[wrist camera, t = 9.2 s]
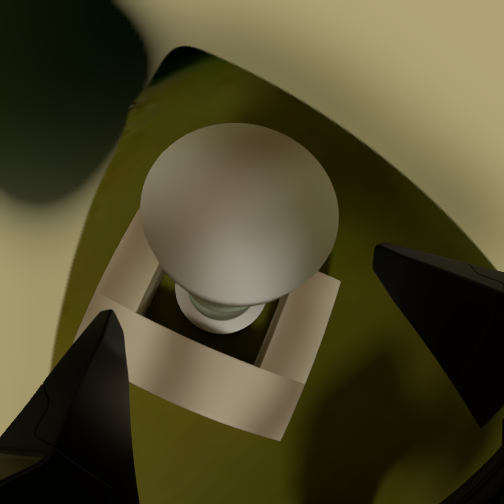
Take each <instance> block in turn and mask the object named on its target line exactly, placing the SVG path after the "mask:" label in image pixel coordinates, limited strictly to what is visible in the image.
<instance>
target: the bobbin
mask: <svg viewBox="0 0 504 504" xmlns="http://www.w3.org/2000/svg"><path fill="white" fill-rule="evenodd" d="M140 209H141V221H142V226H143V230H144V234H145V236H146V239H147V241H148V244H149V246H150V248H151V249H152V251H153V253H154V255H155V257H156V258H157V260H158V262H159V264H160V265H161V267H162V268H163V269H164V271H165V272H166V273H167V274H168V276H169V277H170V278H171V279H172V280H173V281H174V282H175V283H176V284H175V292H176V298H177V301H178V304H179V306H180V308H181V310H182V312H183V313H184V315H185V316H186V317H187V318H188V319H189V321H191V322H192V323H193V324H194V325H195V326H197V327H198V328H200V329H202V330H204V331H207V332H210V333H214V334H228V333H233V332H236V331H239V330H241V329H243V328H245V327H247V326H248V325H250V324H251V323H252V322H253V321H254V320H255V319H256V318H257V317H258V316H259V315H260V313H261V312H262V310H263V308H264V306H265V304H266V303H269V302H272V301H274V300H277V299H279V298H281V297H283V296H285V295H287V294H289V293H290V292H292V291H293V290H295V289H296V288H298V287H299V286H300V285H302V284H303V283H305V282H306V281H307V280H309V279H310V278H311V277H312V276H313V275H314V274H315V273H316V272H317V271H318V270H319V269H320V268H321V266H322V265H323V264H324V262H325V261H326V259H327V258H328V256H329V254H330V252H331V250H332V248H333V245H334V242H335V240H336V236H337V231H338V223H339V211H338V203H337V198H336V194H335V191H334V188H333V185H332V183H331V181H330V179H329V177H328V175H327V173H326V172H325V170H324V169H323V167H322V166H321V164H320V163H319V162H318V161H317V160H316V158H315V157H314V156H313V155H312V154H311V153H310V152H309V151H308V150H307V149H306V148H304V147H303V146H302V145H300V144H299V143H298V142H296V141H295V140H293V139H291V138H290V137H288V136H286V135H284V134H282V133H280V132H278V131H275V130H272V129H269V128H266V127H263V126H258V125H254V124H246V123H224V124H217V125H212V126H207V127H204V128H201V129H198V130H196V131H193V132H191V133H189V134H187V135H185V136H183V137H182V138H180V139H178V140H177V141H176V142H174V143H173V144H172V145H170V146H169V147H168V148H167V149H166V150H165V151H164V152H163V153H162V154H161V155H160V156H159V158H158V159H157V160H156V162H155V163H154V165H153V166H152V168H151V170H150V171H149V173H148V176H147V178H146V181H145V183H144V187H143V191H142V195H141V205H140Z"/></svg>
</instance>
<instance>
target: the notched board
mask: <svg viewBox="0 0 504 504" xmlns="http://www.w3.org/2000/svg"><path fill="white" fill-rule="evenodd" d="M164 274H165V271H164V269H163V268H162V267H161V265H160V264H159V262H158V260H157V258H156V257H155V255H154V253H153V251H152V249H151V248H150V246H149V244H148V241H147V239H146V236H145V234H144V230H143V226H142V221H141V209H140V208H139V210H138V212H137V213H136V215H135V217H134V218H133V220H132V222H131V224H130V225H129V227H128V229H127V231H126V233H125V234H124V236H123V238H122V240H121V242H120V244H119V245H118V247H117V249H116V251H115V253H114V255H113V257H112V259H111V261H110V263H109V265H108V267H107V269H106V271H105V273H104V275H103V277H102V279H101V281H100V283H99V285H98V287H97V289H96V291H95V293H94V296H93V298H92V300H91V302H90V304H89V307H88V309H87V311H86V313H85V316H84V318H83V320H82V323H81V325H80V327H79V330H78V332H77V335H76V337H75V340H74V342H75V341H76V340H77V338H78V337H79V336H80V335H81V334H82V332H83V331H84V330H85V329H86V328H87V326H88V325H89V324H90V323H91V322H92V320H93V319H94V318H95V317H96V316H97V315H98V313H99V312H100V311H103V310H108V309H112V310H114V312H115V314H116V316H117V318H118V320H119V323H120V325H121V327H122V329H123V333H124V339H125V350H126V359H127V367H128V376H129V382H131V383H133V384H135V385H137V386H139V387H141V388H143V389H145V390H147V391H149V392H151V393H153V394H155V395H157V396H159V397H161V398H163V399H166V400H168V401H170V402H172V403H174V404H177V405H179V406H181V407H183V408H186V409H188V410H191V411H193V412H195V413H198V414H200V415H203V416H205V417H208V418H211V419H213V420H216V421H219V422H221V423H224V424H227V425H230V426H233V427H236V428H239V429H242V430H245V431H248V432H251V433H254V434H257V435H261V436H264V437H267V438H271V439H274V440H278V441H281V439H282V436H283V434H284V432H285V430H286V428H287V425H288V423H289V421H290V419H291V416H292V414H293V412H294V409H295V407H296V405H297V402H298V400H299V397H300V395H301V393H302V390H303V388H304V385H305V383H306V380H307V378H308V375H309V373H310V370H311V367H312V365H313V362H314V359H315V357H316V354H317V351H318V349H319V346H320V343H321V340H322V337H323V335H324V332H325V329H326V326H327V323H328V320H329V317H330V314H331V311H332V308H333V305H334V302H335V299H336V296H337V292H338V289H339V286H340V283H341V281H339V280H337V279H334V278H332V277H330V276H328V275H325V274H323V273H321V272H319V271H317V272H316V273H315V274H314V275H313V276H312V277H311V278H310V279H309V280H307V281H306V282H305V283H303V284H302V285H300V286H299V287H298V288H296V289H295V290H293V291H292V292H290V293H289V294H287V295H285V296H283V297H281V298H280V300H279V303H278V305H277V308H276V310H275V313H274V315H273V318H272V321H271V323H270V326H269V328H268V331H267V333H266V336H265V338H264V341H263V343H262V345H261V348H260V350H259V353H258V355H257V358H256V360H255V363H254V365H252V364H249V363H247V362H244V361H242V360H239V359H237V358H234V357H232V356H229V355H227V354H224V353H222V352H220V351H217V350H215V349H213V348H210V347H208V346H206V345H203V344H201V343H199V342H197V341H194V340H192V339H190V338H188V337H185V336H183V335H181V334H179V333H177V332H175V331H173V330H171V329H168V328H166V327H164V326H162V325H160V324H158V323H156V322H154V321H152V320H150V319H148V318H146V317H144V316H145V314H146V312H147V310H148V308H149V305H150V303H151V301H152V299H153V297H154V295H155V293H156V290H157V288H158V286H159V284H160V282H161V280H162V278H163V276H164ZM74 342H73V343H74Z"/></svg>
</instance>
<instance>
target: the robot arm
mask: <svg viewBox="0 0 504 504" xmlns="http://www.w3.org/2000/svg"><path fill="white" fill-rule="evenodd" d="M373 270H374V272H375V274H376V275H377V277H378V278H379V280H380V281H381V283H382V284H383V286H384V287H385V289H386V290H387V292H388V294H389V295H390V297H391V298H392V300H393V301H394V303H395V304H396V305H397V307H398V308H399V309H400V310H401V312H402V313H403V314H404V316H405V317H406V318H407V320H408V321H409V322H410V324H411V325H412V326H413V328H414V329H415V330H416V332H417V333H418V334H419V336H420V337H421V339H422V340H423V341H424V343H425V344H426V345H427V347H428V348H429V350H430V351H431V352H432V354H433V355H434V357H435V358H436V360H437V361H438V362H439V364H440V365H441V367H442V368H443V370H444V371H445V373H446V374H447V376H448V377H449V379H450V380H451V382H452V383H453V385H454V387H455V388H456V390H457V391H458V393H459V394H460V396H461V397H462V399H463V401H464V402H465V404H466V405H467V407H468V409H469V410H470V412H471V414H472V415H473V417H474V419H475V420H476V422H477V424H478V425H479V427H480V428H483V427H484V426H485V425H486V424H487V423H488V422H489V421H490V420H491V419H492V418H493V417H494V416H495V415H496V413H497V412H498V411H499V410H500V409H501V408H502V407H503V406H504V272H501V271H497V270H492V269H488V268H484V267H480V266H477V265H473V264H468V263H465V262H462V261H458V260H454V259H450V258H446V257H443V256H439V255H435V254H431V253H427V252H423V251H419V250H415V249H411V248H406V247H402V246H398V245H394V244H390V243H382V244H378V245H376V247H375V249H374V257H373ZM489 501H490V503H491V504H504V419H503V420H502V446H501V447H500V448H499V449H498V450H497V451H496V453H495V454H494V455H493V456H492V457H491V458H490V459H489V460H488V461H487V462H486V463H485V464H484V465H483V466H482V467H481V468H480V469H479V470H478V471H477V472H476V473H475V474H474V475H472V476H471V477H470V478H469V479H468V480H467V481H466V482H465V483H464V484H462V485H461V486H460V487H459V488H458V489H457V490H455V491H454V492H453V493H452V494H451V495H449V496H448V497H447V498H446V499H444V500H443V501H442V502H441V503H439V504H487V503H488V502H489ZM138 502H139V497H138V490H137V483H136V476H135V468H134V459H133V449H132V438H131V424H130V404H129V376H128V367H127V359H126V350H125V339H124V333H123V329H122V327H121V325H120V323H119V320H118V318H117V316H116V314H115V312H114V310H112V309H108V310H103V311H100V312H99V313H98V315H97V316H96V317H95V318H94V319H93V320H92V322H91V323H90V324H89V325H88V326H87V328H86V329H85V330H84V331H83V332H82V334H81V335H80V336H79V337H78V338H77V340H76V341H75V342H74V343H73V345H72V346H71V347H70V348H69V350H68V351H67V352H66V353H65V355H64V356H63V357H62V358H61V360H60V361H59V362H58V364H57V365H56V366H55V367H54V369H53V370H52V371H51V373H50V374H49V375H48V377H47V378H46V379H45V381H44V382H43V384H42V385H41V386H40V387H39V389H38V390H37V391H36V393H35V394H34V395H33V397H32V398H31V399H30V401H29V402H28V404H27V405H26V406H25V407H24V408H23V410H22V411H21V412H20V413H19V415H18V416H17V417H16V418H15V419H14V421H13V422H12V423H11V424H10V426H9V427H8V428H7V429H6V431H5V432H4V433H3V434H2V435H1V437H0V504H140V503H138Z"/></svg>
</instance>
